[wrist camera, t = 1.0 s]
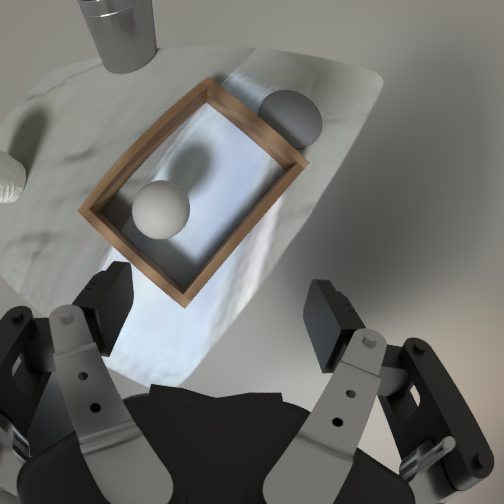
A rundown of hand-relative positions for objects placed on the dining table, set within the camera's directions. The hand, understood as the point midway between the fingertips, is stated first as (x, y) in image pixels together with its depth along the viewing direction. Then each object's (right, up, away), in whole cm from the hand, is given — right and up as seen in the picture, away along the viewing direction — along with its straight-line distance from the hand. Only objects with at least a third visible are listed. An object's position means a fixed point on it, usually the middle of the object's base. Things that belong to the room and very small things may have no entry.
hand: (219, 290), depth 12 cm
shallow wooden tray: (-6, +10, +24) cm, 26 cm away
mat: (+7, +22, +26) cm, 35 cm away
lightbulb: (-10, +6, +23) cm, 26 cm away
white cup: (-36, +13, +17) cm, 42 cm away
